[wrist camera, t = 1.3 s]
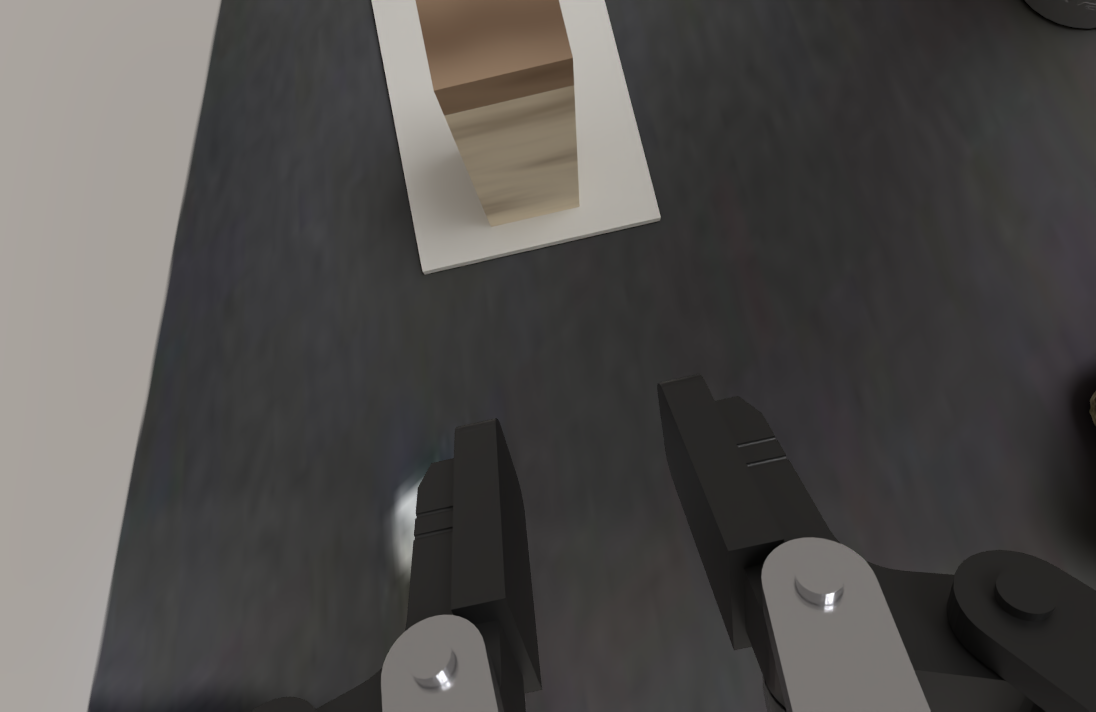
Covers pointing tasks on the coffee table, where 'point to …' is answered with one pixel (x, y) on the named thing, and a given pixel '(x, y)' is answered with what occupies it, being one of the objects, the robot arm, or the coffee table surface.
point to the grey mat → (442, 178)
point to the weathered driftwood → (1093, 407)
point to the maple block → (507, 100)
